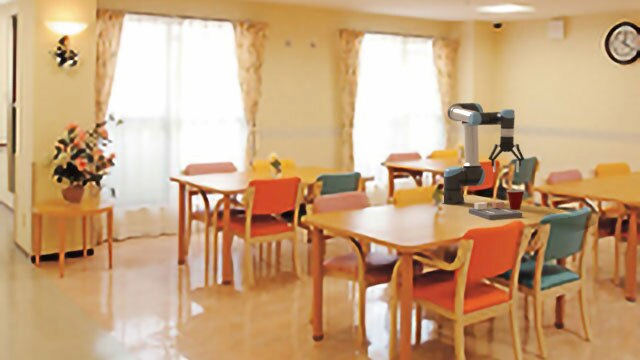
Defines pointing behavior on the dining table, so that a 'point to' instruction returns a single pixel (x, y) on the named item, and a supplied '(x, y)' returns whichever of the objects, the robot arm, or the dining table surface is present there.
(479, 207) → the fader
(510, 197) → the plastic cup
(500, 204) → the fader
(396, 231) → the dining table surface
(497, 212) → the slider panel
